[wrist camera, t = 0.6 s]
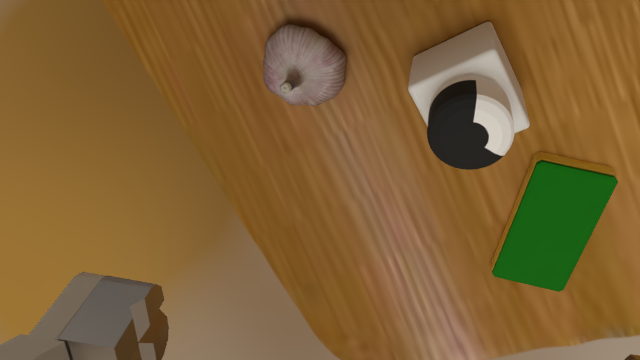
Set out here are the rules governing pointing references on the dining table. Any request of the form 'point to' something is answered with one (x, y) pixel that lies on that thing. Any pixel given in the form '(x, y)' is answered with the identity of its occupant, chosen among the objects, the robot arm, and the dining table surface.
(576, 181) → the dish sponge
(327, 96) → the garlic bulb
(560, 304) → the dining table surface
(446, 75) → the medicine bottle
